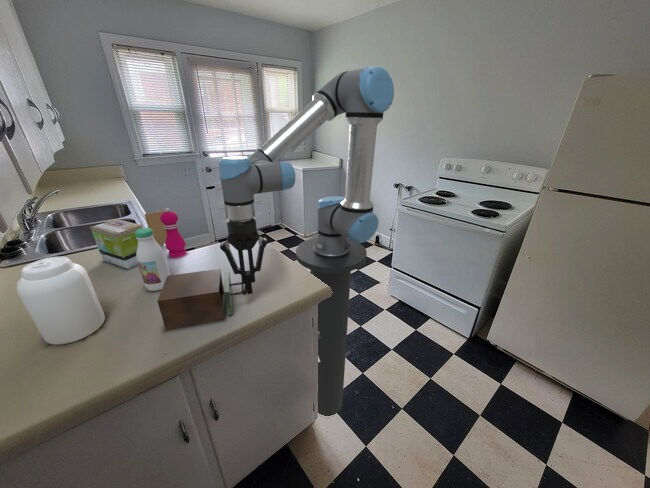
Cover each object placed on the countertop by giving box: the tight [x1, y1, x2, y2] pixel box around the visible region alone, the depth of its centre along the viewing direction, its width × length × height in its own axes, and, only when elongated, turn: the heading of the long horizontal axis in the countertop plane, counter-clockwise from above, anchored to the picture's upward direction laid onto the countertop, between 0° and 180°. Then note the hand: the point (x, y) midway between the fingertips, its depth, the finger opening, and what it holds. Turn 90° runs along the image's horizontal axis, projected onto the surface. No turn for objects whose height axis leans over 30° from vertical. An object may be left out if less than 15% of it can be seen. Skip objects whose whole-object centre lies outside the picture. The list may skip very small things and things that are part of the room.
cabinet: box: [156, 268, 226, 331], centre depth 77 cm, size 15×13×10 cm
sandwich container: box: [144, 210, 167, 246], centre depth 123 cm, size 9×15×15 cm, turn 36°
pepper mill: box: [160, 207, 187, 259], centre depth 107 cm, size 7×7×20 cm
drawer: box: [219, 270, 248, 316], centre depth 79 cm, size 18×11×8 cm, turn 107°
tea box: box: [89, 218, 143, 270], centre depth 103 cm, size 15×10×15 cm, turn 67°
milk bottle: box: [135, 227, 171, 292], centre depth 87 cm, size 8×8×20 cm
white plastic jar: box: [16, 255, 106, 346], centre depth 68 cm, size 12×12×20 cm
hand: (249, 291), depth 82 cm, fingers closed
